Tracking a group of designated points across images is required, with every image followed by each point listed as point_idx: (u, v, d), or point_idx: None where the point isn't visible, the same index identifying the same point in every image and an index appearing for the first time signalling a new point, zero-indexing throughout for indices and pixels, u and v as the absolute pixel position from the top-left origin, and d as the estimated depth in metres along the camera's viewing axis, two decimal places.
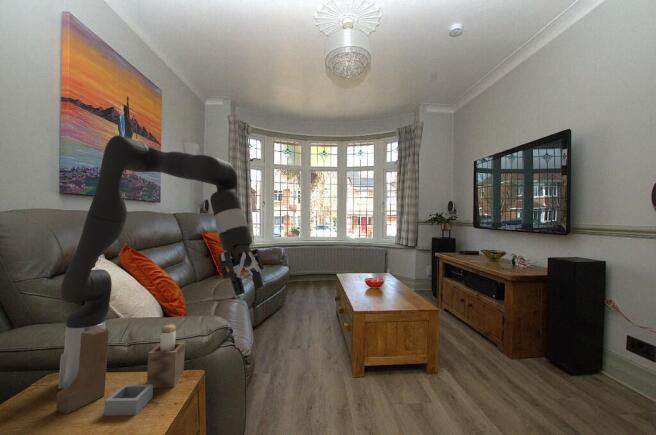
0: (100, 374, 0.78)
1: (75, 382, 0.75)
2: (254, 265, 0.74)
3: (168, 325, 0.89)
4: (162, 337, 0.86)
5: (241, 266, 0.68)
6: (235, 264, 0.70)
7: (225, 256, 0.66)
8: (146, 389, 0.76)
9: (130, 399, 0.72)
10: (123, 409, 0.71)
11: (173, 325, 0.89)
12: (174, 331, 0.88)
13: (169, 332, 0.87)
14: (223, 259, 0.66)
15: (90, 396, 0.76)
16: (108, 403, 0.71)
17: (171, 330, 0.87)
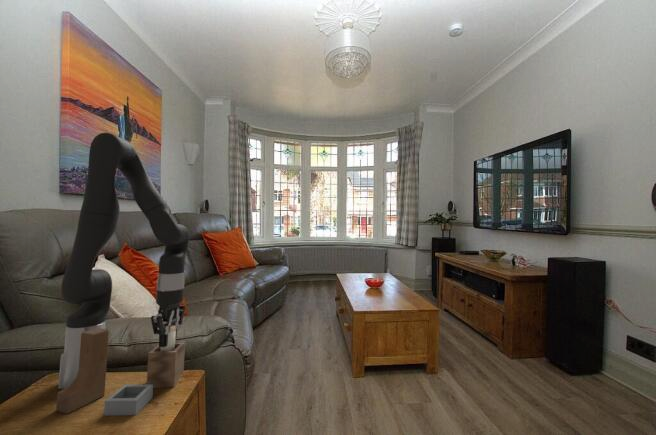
0: (100, 374, 0.78)
1: (75, 382, 0.75)
2: (175, 320, 0.90)
3: None
4: None
5: (169, 324, 0.86)
6: None
7: (157, 321, 0.82)
8: (146, 389, 0.76)
9: (130, 399, 0.72)
10: (123, 409, 0.71)
11: (173, 325, 0.89)
12: (174, 331, 0.88)
13: (169, 332, 0.87)
14: (155, 322, 0.82)
15: (90, 396, 0.76)
16: (108, 403, 0.71)
17: (171, 330, 0.87)
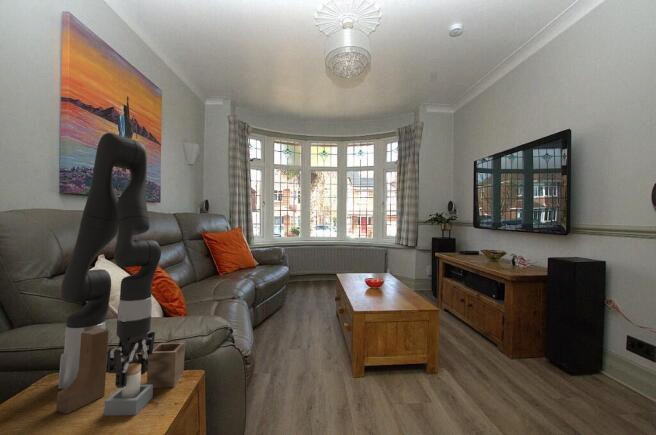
0: (100, 374, 0.78)
1: (75, 382, 0.75)
2: (143, 352, 0.77)
3: (132, 365, 0.76)
4: None
5: (130, 360, 0.72)
6: (125, 354, 0.73)
7: (114, 355, 0.69)
8: (146, 389, 0.76)
9: (130, 399, 0.72)
10: (123, 409, 0.71)
11: (138, 365, 0.76)
12: (139, 372, 0.75)
13: (131, 374, 0.74)
14: (112, 357, 0.69)
15: (90, 396, 0.76)
16: (108, 403, 0.71)
17: (135, 372, 0.74)
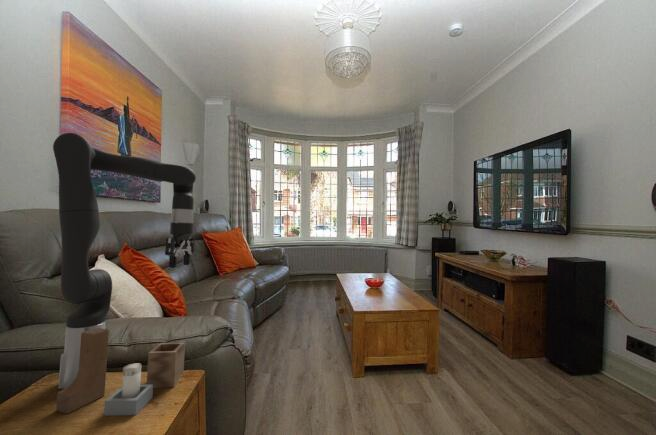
0: (100, 374, 0.78)
1: (75, 382, 0.75)
2: (188, 249, 1.08)
3: (132, 365, 0.76)
4: (124, 381, 0.73)
5: (179, 250, 1.01)
6: (175, 246, 1.02)
7: (171, 241, 0.98)
8: (146, 389, 0.76)
9: (130, 399, 0.72)
10: (123, 409, 0.71)
11: (138, 365, 0.76)
12: (139, 373, 0.75)
13: (131, 374, 0.74)
14: (169, 242, 0.98)
15: (90, 396, 0.76)
16: (108, 403, 0.71)
17: (134, 372, 0.74)
